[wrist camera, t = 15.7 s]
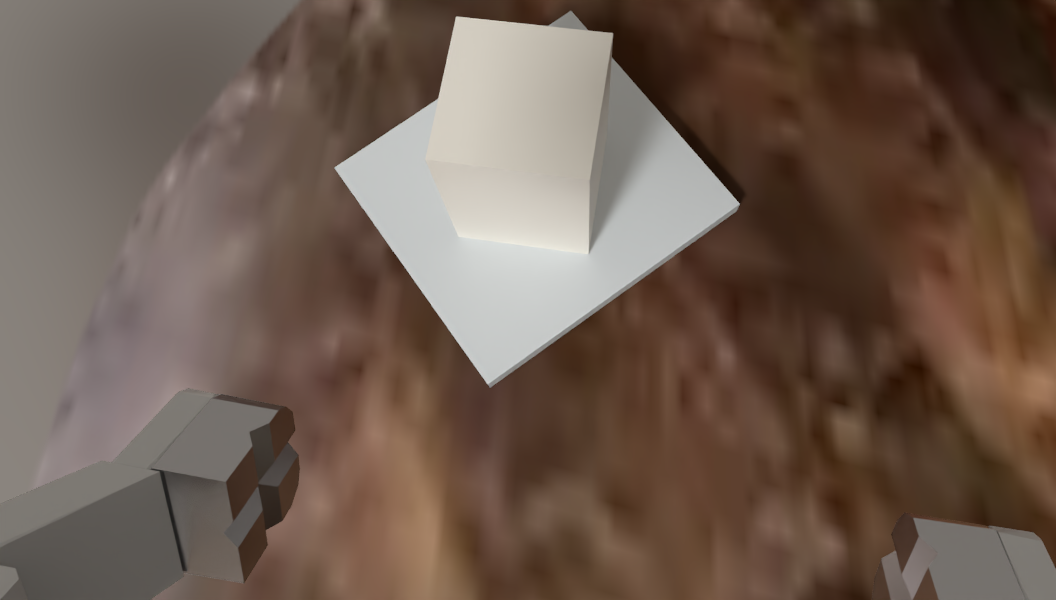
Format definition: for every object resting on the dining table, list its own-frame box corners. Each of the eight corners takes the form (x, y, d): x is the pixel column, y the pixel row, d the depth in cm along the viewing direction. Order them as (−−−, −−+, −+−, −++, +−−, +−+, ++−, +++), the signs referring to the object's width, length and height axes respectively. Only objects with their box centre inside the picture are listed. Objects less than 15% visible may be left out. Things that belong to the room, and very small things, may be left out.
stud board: (571, 21, 38) (568, -67, 32) (736, 211, 35) (765, 150, 29) (339, 175, 36) (295, 111, 31) (490, 387, 33) (471, 359, 28)
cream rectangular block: (481, 119, 36) (456, 16, 29) (607, 134, 35) (613, 33, 28) (458, 236, 34) (425, 159, 27) (588, 254, 34) (589, 180, 27)
